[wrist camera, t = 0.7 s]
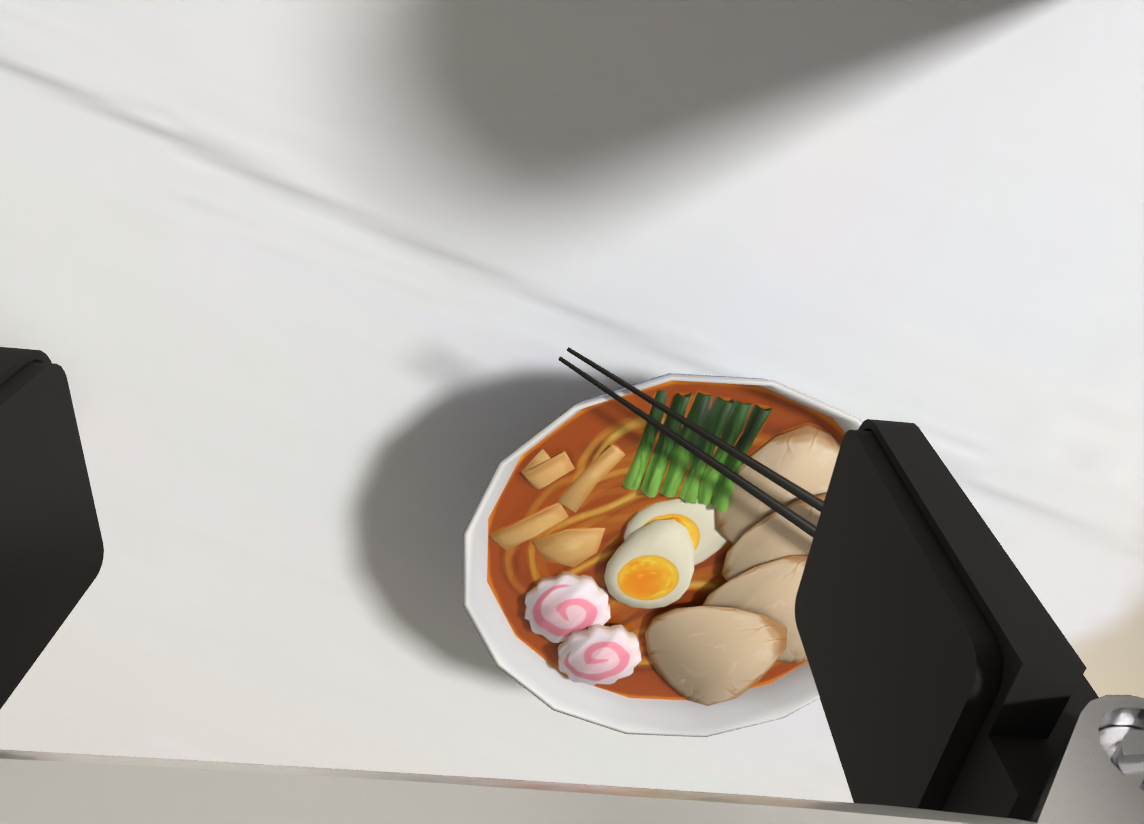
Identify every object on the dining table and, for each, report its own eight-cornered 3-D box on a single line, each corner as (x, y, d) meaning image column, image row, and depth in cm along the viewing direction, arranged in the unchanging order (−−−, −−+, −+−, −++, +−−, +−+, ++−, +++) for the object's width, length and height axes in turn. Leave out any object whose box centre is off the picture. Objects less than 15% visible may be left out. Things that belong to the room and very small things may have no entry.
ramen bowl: (380, 518, 49) (348, 617, 42) (629, 204, 40) (643, 262, 33) (706, 701, 57) (726, 812, 50) (977, 470, 48) (1048, 564, 41)
